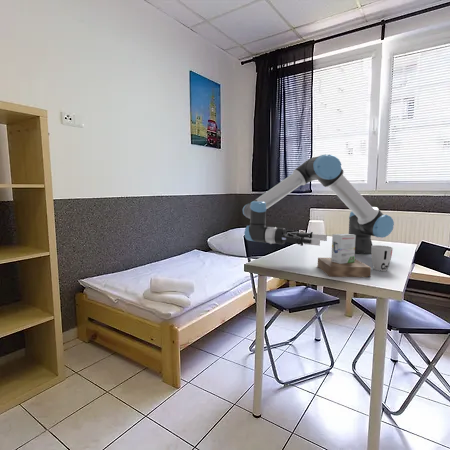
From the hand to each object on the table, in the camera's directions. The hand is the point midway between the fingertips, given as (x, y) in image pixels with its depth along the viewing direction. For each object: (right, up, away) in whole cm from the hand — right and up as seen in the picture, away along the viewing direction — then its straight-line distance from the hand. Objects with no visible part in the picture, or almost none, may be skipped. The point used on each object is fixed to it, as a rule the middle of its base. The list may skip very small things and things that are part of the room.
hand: (323, 240), depth 128 cm
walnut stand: (+7, -13, -3) cm, 15 cm away
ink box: (+7, -9, -3) cm, 12 cm away
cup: (+25, -13, +1) cm, 28 cm away
